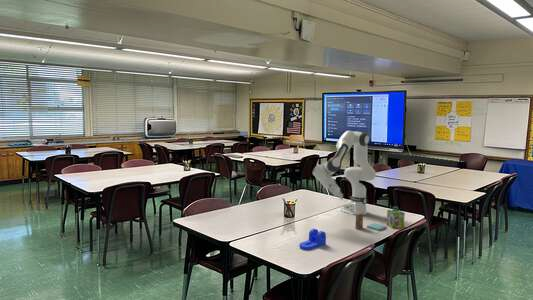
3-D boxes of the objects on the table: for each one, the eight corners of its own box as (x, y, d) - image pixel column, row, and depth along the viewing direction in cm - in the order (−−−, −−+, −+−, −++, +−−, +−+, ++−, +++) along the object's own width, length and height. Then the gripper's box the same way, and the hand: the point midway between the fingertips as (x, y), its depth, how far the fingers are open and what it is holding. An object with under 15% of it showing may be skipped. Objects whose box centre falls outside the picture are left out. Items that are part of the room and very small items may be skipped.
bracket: (315, 241, 229) (316, 227, 228) (325, 244, 223) (326, 230, 222) (296, 247, 217) (296, 233, 216) (306, 251, 211) (306, 236, 210)
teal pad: (366, 227, 258) (366, 225, 257) (373, 225, 264) (373, 223, 264) (379, 230, 250) (379, 228, 250) (386, 228, 257) (386, 226, 257)
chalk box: (393, 228, 256) (394, 208, 255) (386, 225, 265) (386, 205, 264) (404, 227, 259) (405, 208, 257) (396, 224, 267) (397, 205, 266)
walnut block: (355, 228, 255) (356, 214, 254) (355, 226, 260) (355, 212, 259) (362, 229, 254) (363, 214, 253) (362, 227, 258) (363, 212, 257)
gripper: (331, 183, 248) (345, 197, 247) (333, 178, 268) (346, 192, 266) (325, 188, 250) (338, 203, 248) (327, 184, 269) (339, 197, 268)
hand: (342, 197), depth 257 cm, fingers open, 8 cm apart
